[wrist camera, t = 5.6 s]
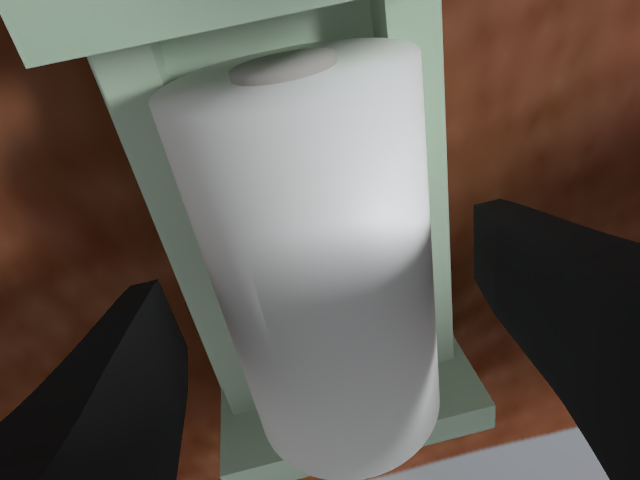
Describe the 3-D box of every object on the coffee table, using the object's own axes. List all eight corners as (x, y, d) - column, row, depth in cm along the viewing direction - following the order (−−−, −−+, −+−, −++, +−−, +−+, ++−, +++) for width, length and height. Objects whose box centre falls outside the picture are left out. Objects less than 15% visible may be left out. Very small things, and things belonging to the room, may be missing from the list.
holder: (69, -12, 10) (-8, -1, 7) (422, -83, 11) (511, -105, 7) (229, 391, 17) (229, 497, 14) (443, 337, 18) (494, 427, 14)
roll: (155, 67, 11) (129, 132, 6) (369, 21, 11) (475, 52, 7) (254, 363, 15) (276, 512, 11) (400, 321, 16) (474, 448, 12)
